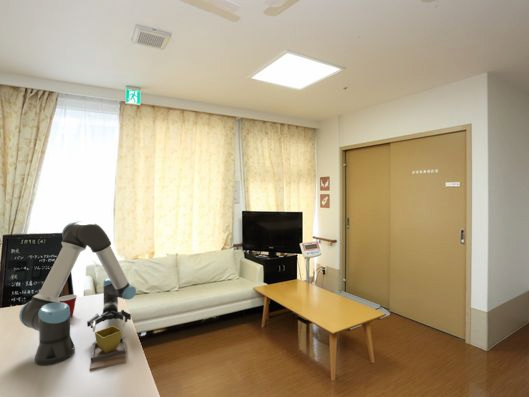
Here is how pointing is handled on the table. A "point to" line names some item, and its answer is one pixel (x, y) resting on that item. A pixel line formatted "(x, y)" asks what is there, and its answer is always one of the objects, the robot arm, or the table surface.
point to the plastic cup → (69, 302)
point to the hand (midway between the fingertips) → (109, 326)
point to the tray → (107, 356)
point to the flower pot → (108, 338)
